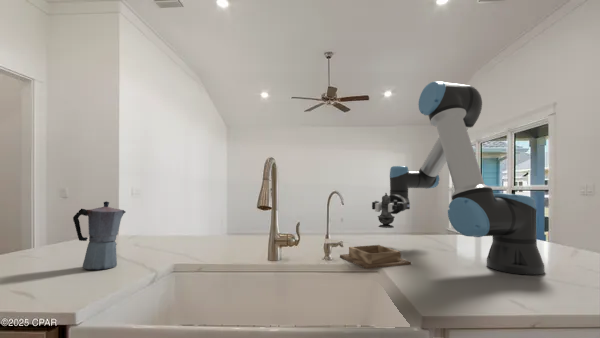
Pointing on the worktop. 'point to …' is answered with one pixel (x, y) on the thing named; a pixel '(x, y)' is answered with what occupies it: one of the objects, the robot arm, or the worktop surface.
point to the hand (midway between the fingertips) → (382, 207)
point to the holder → (374, 256)
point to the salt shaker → (386, 213)
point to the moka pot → (100, 236)
